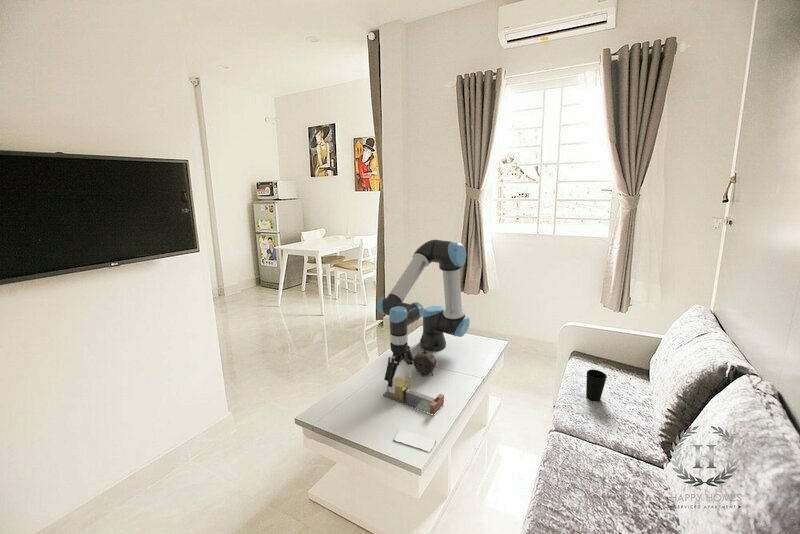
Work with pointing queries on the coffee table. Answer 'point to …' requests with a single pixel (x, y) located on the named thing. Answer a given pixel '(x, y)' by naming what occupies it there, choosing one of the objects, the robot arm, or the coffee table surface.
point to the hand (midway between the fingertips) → (400, 384)
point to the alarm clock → (424, 362)
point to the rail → (419, 400)
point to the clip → (400, 387)
